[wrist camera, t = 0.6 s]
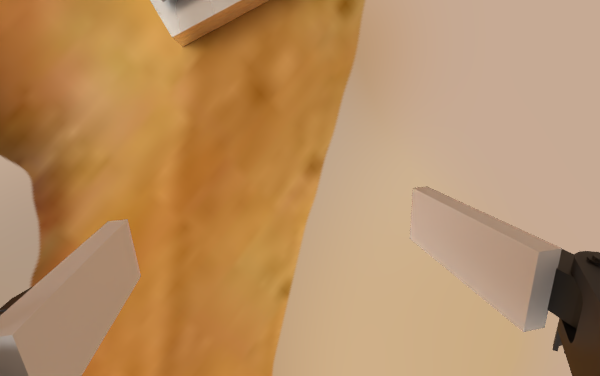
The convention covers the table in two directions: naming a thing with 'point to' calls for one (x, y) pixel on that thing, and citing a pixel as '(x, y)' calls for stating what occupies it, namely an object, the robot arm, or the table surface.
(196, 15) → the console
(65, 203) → the table surface
